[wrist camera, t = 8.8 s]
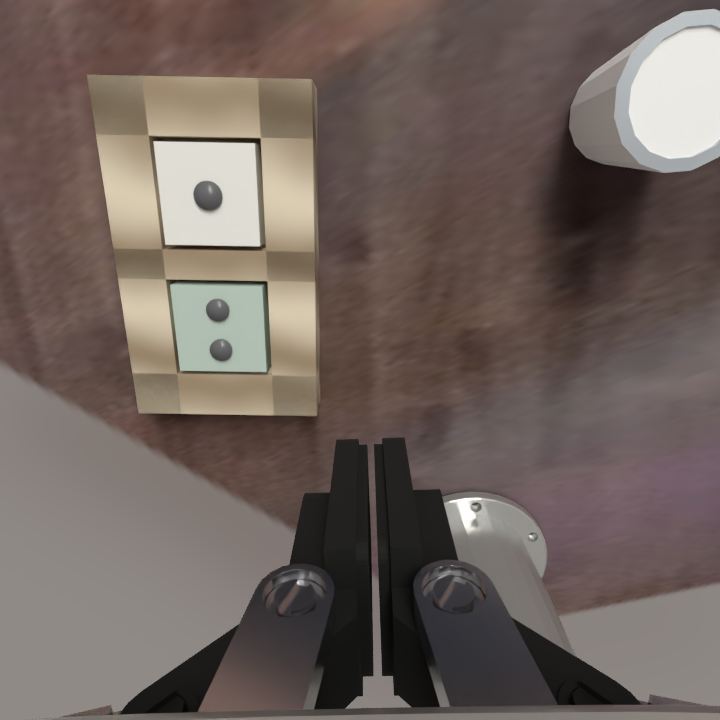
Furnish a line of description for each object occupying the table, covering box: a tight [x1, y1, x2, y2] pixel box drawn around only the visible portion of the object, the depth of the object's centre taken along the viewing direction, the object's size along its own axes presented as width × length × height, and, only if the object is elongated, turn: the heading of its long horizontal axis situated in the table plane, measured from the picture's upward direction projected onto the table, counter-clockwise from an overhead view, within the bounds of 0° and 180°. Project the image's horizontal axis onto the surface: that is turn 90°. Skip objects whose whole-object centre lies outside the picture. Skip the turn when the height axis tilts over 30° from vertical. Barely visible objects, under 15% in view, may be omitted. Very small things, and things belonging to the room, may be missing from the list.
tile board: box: [87, 75, 320, 416], centre depth 31 cm, size 20×12×3 cm, turn 179°
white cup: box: [569, 9, 720, 173], centre depth 26 cm, size 7×7×7 cm
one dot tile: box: [153, 141, 266, 246], centre depth 29 cm, size 6×6×2 cm
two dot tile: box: [170, 280, 271, 372], centre depth 32 cm, size 6×6×2 cm
